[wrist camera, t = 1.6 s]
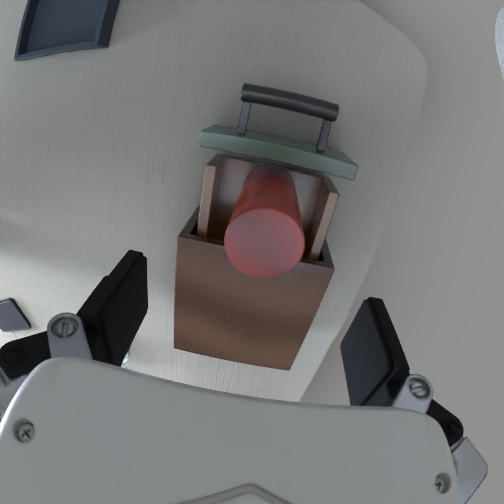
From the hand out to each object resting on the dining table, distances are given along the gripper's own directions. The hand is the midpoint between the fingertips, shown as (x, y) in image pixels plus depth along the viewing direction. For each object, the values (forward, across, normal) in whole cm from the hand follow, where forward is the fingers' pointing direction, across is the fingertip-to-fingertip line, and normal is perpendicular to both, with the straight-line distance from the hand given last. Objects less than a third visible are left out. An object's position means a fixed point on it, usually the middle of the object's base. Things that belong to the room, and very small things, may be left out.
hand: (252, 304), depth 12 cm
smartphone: (+18, +46, +34) cm, 60 cm away
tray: (+17, +24, -17) cm, 34 cm away
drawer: (+16, 0, -1) cm, 16 cm away
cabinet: (+17, 0, +10) cm, 20 cm away
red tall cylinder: (+15, 0, 0) cm, 15 cm away
